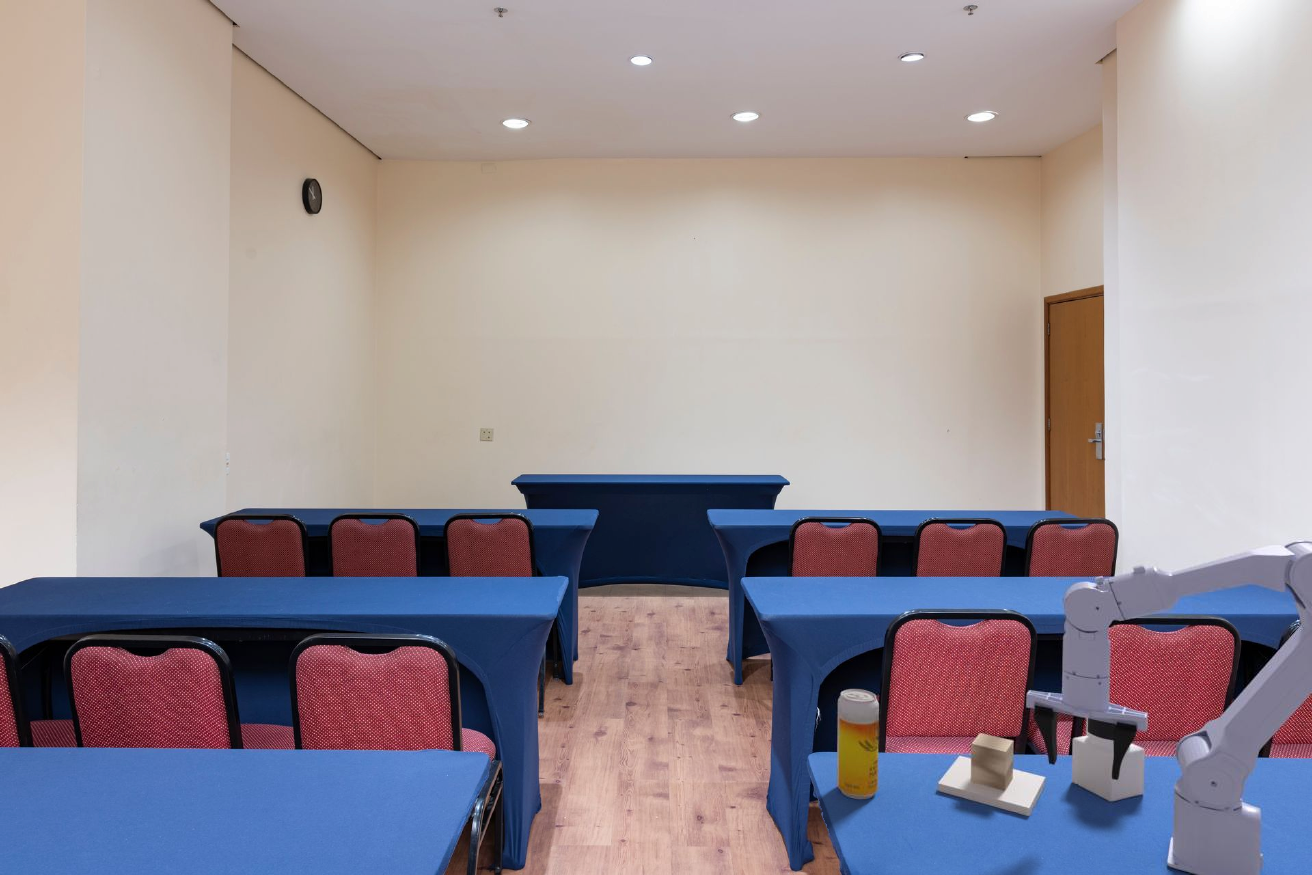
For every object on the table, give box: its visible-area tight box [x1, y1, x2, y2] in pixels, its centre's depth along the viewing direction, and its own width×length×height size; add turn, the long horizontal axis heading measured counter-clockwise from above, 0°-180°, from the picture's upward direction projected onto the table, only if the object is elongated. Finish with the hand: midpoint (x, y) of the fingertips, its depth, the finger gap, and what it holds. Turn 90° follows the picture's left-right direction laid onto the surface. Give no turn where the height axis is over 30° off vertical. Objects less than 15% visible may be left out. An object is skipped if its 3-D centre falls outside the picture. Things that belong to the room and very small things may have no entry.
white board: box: [937, 755, 1046, 817], centre depth 124 cm, size 13×12×1 cm
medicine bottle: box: [1071, 718, 1146, 802], centre depth 124 cm, size 7×7×12 cm
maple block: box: [970, 732, 1015, 791], centre depth 124 cm, size 5×5×6 cm
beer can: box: [836, 688, 880, 800], centre depth 123 cm, size 6×6×15 cm
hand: (1083, 769), depth 110 cm, fingers open, 7 cm apart
